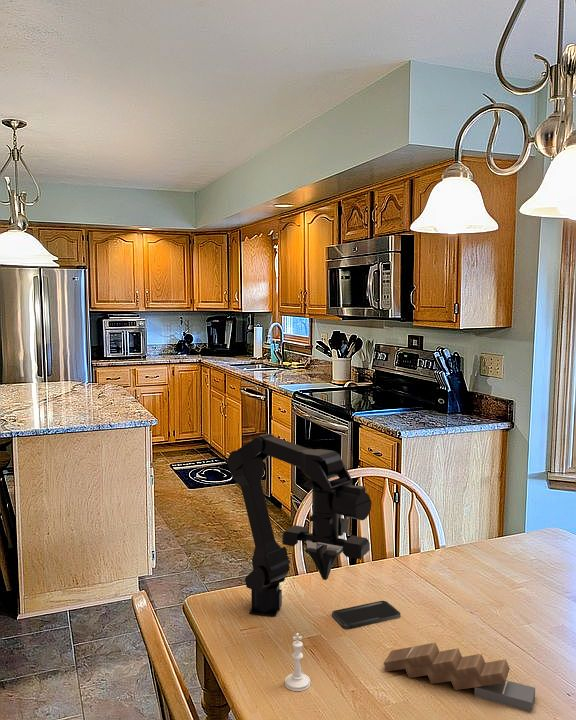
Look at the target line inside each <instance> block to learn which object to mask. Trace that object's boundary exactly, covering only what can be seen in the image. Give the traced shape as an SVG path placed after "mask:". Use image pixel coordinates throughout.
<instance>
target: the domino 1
mask: <svg viewBox="0 0 576 720" xmlns="http://www.w3.org/2000/svg"><path fill="white" fill-rule="evenodd" d="M439 652H440V649H439V648H438V645H437V642H431V643H427V644H421V645H415V646H414V645H413V646H410V647H405V648H399V649H392V650H391V651H390V652H389V653H388V656H387V657H386V658H385V660H383V665H384V667H385V670H386V672H393V671H398V670H406V668H412V667H418V666H424V665H430V664H433V662H434V660H435V659H436V657H437V655H438V653H439Z"/></svg>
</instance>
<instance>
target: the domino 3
mask: <svg viewBox="0 0 576 720" xmlns="http://www.w3.org/2000/svg"><path fill="white" fill-rule="evenodd" d="M485 663H486V661H485V658H484V657H483V654H482V653H477V654H472V655H466V656H462V659H461V661H460V663H459V665H458V667H457V670H455V671H449V672H443V673H437V674H431V675H427V677H428V680H429V682H430V684H431V685H433V684H434V685H435V684H440V683H445V682H451V681H454V680H460V679H467V678H473V677H479V676H480V675H481V673H482V670H483V667H484V665H485Z"/></svg>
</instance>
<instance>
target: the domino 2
mask: <svg viewBox="0 0 576 720" xmlns="http://www.w3.org/2000/svg"><path fill="white" fill-rule="evenodd" d="M462 657H463V656H462V653H461V652H460V648H459V647H457V648H451V649H448V650H441V651H440V650H439V653H438V655H437V657H436V659H435V660H434V662H433V664H430V665H424V666H418V667H412V668H405V671H406V674H407V677H408V679H413V678H418V677H419V678H420V677H422V676H423V677H424V676H428V675H431V674H437V673H443V672H449V671H455V670H457V667H458V665H459V663H460V661H461V659H462Z"/></svg>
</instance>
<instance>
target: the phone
mask: <svg viewBox="0 0 576 720" xmlns="http://www.w3.org/2000/svg"><path fill="white" fill-rule="evenodd" d="M331 617H332V618H333V619H334V620H335V621H336V622H337V623H338V624H339V625H340V626H341V627H342V629H345V630H352V629H356V628H357V629H358V628H361V627H365V626H369V625H374V624H379V623H383V622H388V621H392V620H398V619H400V618H401V612H400V611H399V610H398V609H396V608H395V607H394V606H393V605H392V604H390V602H388V601H386V600H378V601H374V602H369V603H364V604H360V605H356V606H350V607H347V608H341V609H335V610H333V611H332V612H331Z"/></svg>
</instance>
